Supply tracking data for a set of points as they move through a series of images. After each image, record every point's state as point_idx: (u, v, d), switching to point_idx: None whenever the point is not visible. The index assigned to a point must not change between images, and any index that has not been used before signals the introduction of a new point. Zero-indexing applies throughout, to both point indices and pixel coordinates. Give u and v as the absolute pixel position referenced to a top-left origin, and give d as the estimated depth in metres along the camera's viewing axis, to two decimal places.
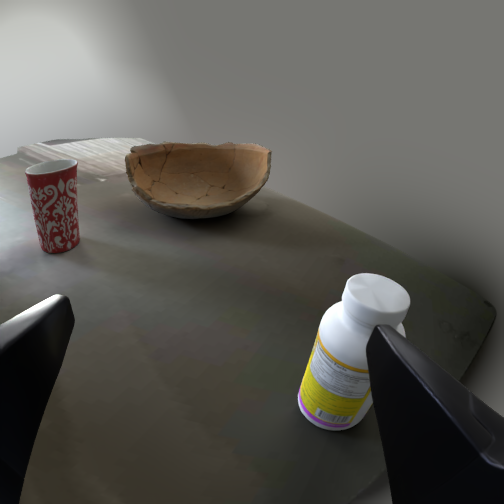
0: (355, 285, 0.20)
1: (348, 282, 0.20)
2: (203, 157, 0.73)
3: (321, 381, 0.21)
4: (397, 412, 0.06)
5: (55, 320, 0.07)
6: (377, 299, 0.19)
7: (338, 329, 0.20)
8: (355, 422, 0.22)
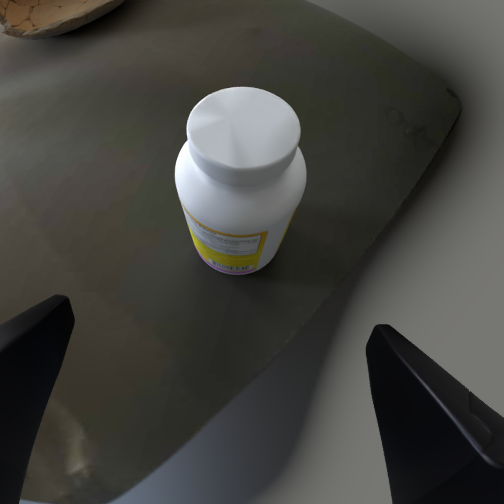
0: (202, 118, 0.12)
1: (191, 114, 0.12)
2: None
3: (197, 236, 0.18)
4: (397, 412, 0.06)
5: (55, 320, 0.07)
6: (236, 142, 0.12)
7: (191, 182, 0.14)
8: (263, 265, 0.22)
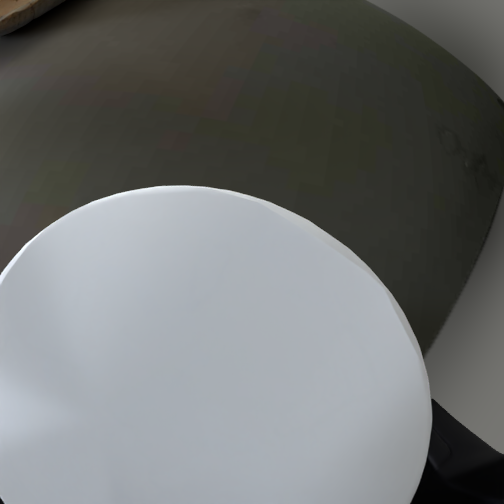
0: (1, 398, 0.02)
1: None
2: None
3: None
4: None
5: None
6: None
7: None
8: None
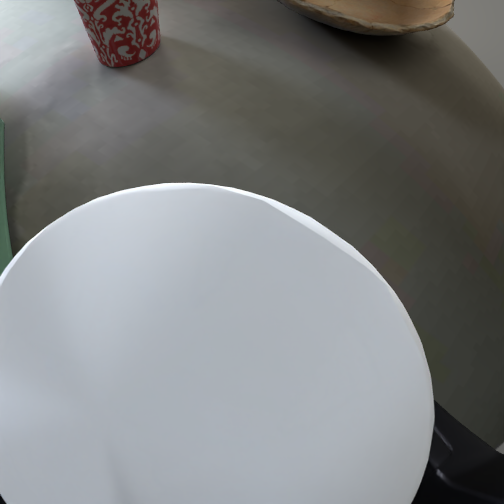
0: (3, 396, 0.02)
1: None
2: None
3: None
4: None
5: None
6: None
7: None
8: None
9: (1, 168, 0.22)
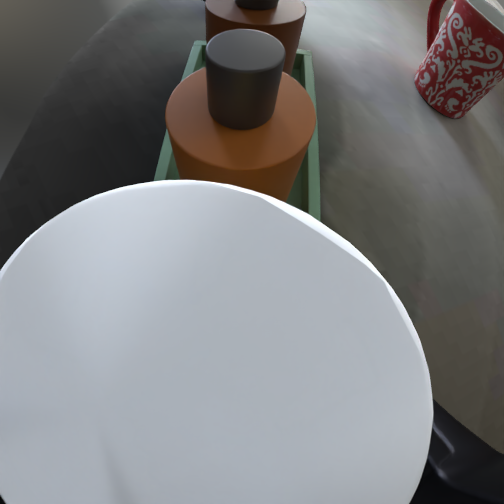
0: (1, 393, 0.02)
1: None
2: None
3: None
4: None
5: None
6: None
7: None
8: None
9: None
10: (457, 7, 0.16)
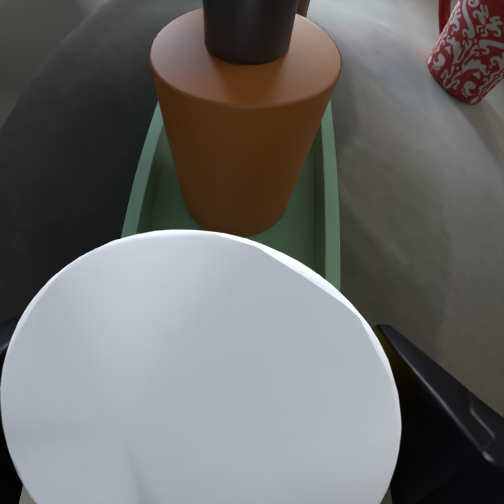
0: (34, 409, 0.02)
1: (3, 382, 0.02)
2: None
3: None
4: None
5: None
6: None
7: None
8: None
9: None
10: None
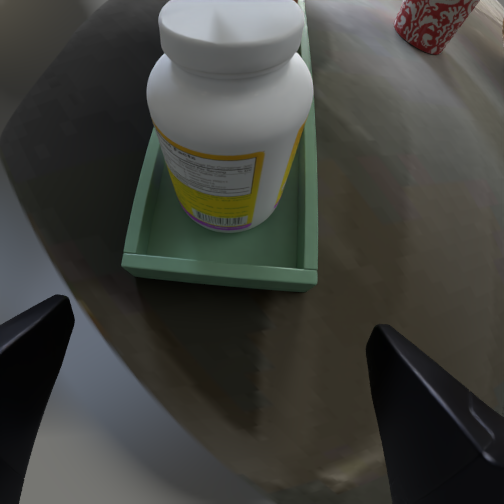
0: (179, 6, 0.08)
1: (166, 4, 0.08)
2: None
3: (175, 173, 0.13)
4: (397, 412, 0.06)
5: (55, 320, 0.07)
6: (220, 22, 0.07)
7: (163, 89, 0.10)
8: (260, 220, 0.18)
9: None
10: None
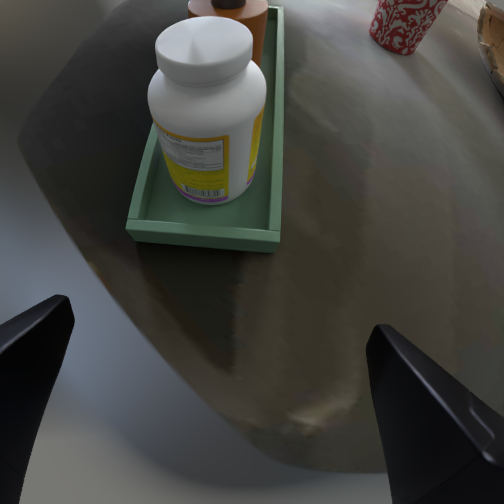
0: (169, 36, 0.12)
1: (160, 35, 0.12)
2: None
3: (168, 155, 0.18)
4: (397, 412, 0.06)
5: (55, 320, 0.07)
6: (195, 49, 0.12)
7: (159, 93, 0.14)
8: (236, 193, 0.22)
9: None
10: None
